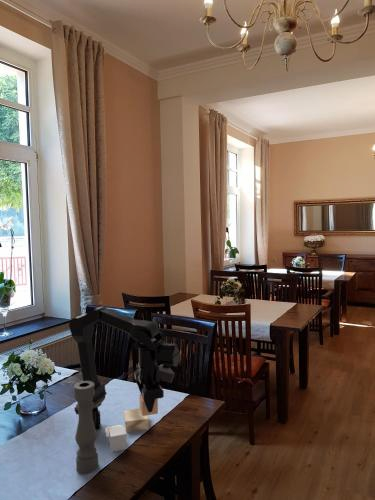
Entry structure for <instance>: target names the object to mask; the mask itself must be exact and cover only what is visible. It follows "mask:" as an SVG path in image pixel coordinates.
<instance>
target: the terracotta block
mask: <svg viewBox="0 0 375 500" xmlns="http://www.w3.org/2000/svg"><path fill="white" fill-rule="evenodd" d="M158 400H159V398H158V399H155V402H154V406H153V410H152V412H148V410H147V407H146V405H145V402H144V400H143V397H142V395H141V393H140V394H139V409H140V411H141V413H142V416H146V415H148V416H150V415H151V416H152V415H157V414H159V413H158V411H159V407H158V406H159V405H158V404H159V403H158V402H159V401H158Z"/></svg>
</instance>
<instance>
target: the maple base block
mask: <svg viewBox="0 0 375 500" xmlns="http://www.w3.org/2000/svg"><path fill="white" fill-rule="evenodd" d="M124 427H125V430H126V433H128V432H135V431H143V430H150V418H149V415H146V416H142V413H141V411H140V408H133V409H125V410H124Z"/></svg>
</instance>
